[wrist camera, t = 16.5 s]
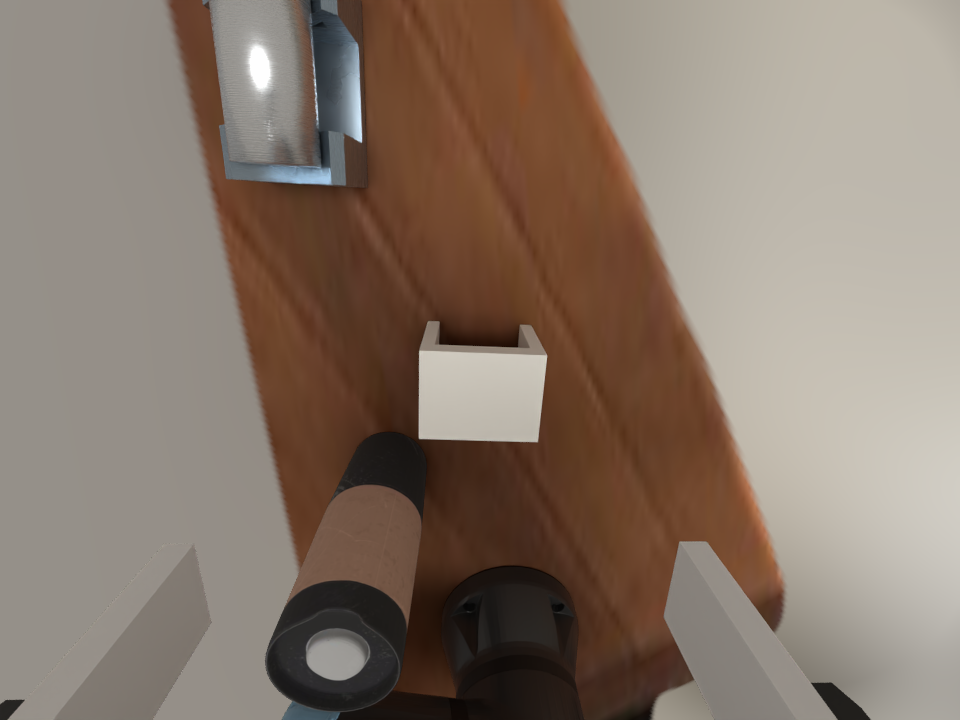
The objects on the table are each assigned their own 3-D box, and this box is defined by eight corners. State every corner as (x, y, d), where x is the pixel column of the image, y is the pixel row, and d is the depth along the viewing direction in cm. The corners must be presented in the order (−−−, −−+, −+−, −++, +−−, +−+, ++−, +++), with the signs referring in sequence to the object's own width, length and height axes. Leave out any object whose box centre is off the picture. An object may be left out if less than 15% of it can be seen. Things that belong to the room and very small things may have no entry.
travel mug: (384, 508, 45) (327, 732, 26) (334, 456, 43) (231, 659, 24) (445, 470, 44) (431, 676, 25) (396, 414, 41) (339, 594, 22)
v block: (367, 188, 34) (343, 185, 27) (270, 182, 34) (220, 178, 27) (361, 1, 30) (330, -59, 23) (251, -8, 30) (186, -71, 23)
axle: (338, 169, 28) (282, 161, 23) (273, 166, 29) (208, 159, 25) (327, -27, 25) (260, -79, 20) (254, -19, 26) (175, -67, 21)
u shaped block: (524, 397, 41) (537, 442, 34) (427, 394, 41) (418, 438, 33) (531, 325, 39) (547, 355, 31) (428, 321, 38) (419, 350, 31)
